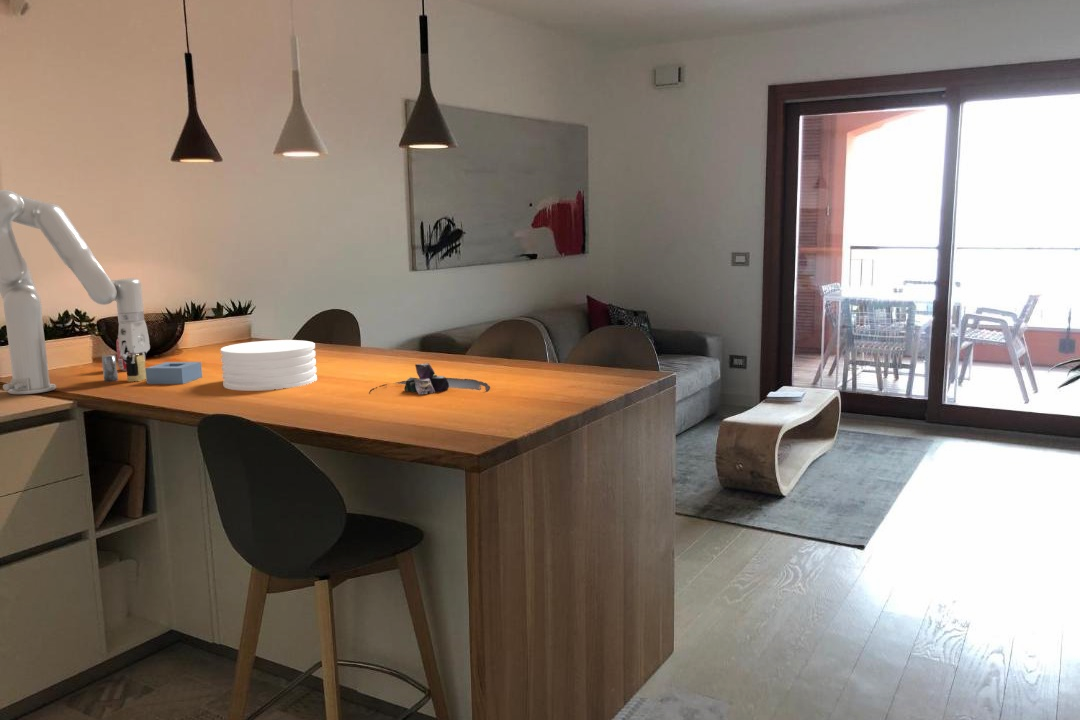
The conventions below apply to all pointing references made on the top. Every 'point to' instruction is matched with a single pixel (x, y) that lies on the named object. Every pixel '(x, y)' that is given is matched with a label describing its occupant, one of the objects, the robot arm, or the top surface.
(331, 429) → the top surface
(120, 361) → the soda can
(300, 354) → the plate stack
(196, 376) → the holder
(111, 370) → the round peg
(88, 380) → the top surface
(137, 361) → the square peg
